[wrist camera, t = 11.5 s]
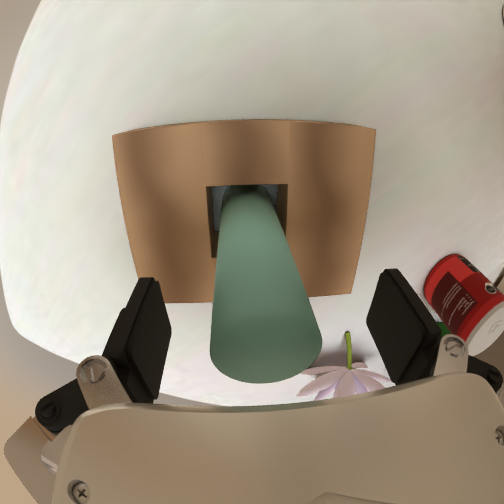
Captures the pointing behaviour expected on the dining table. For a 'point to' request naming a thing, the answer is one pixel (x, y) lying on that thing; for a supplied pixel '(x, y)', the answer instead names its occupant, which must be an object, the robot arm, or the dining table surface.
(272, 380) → the peg
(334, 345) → the dining table surface
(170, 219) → the socket block
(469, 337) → the canned food
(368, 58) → the dining table surface
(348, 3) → the dining table surface
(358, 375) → the water lily
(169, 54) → the dining table surface
